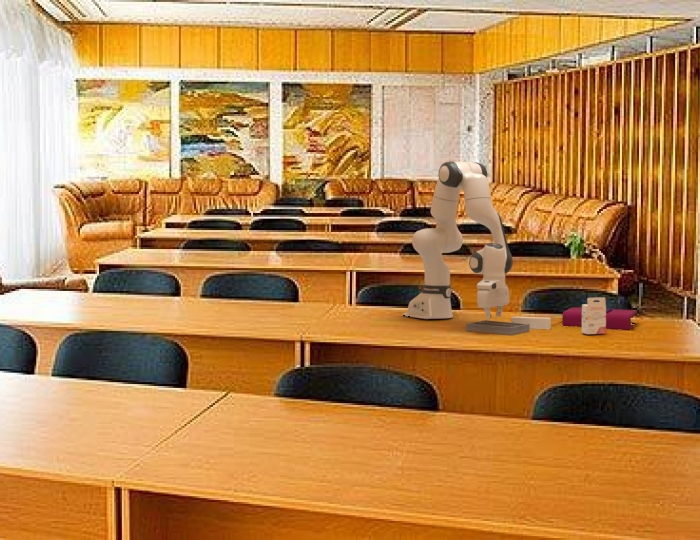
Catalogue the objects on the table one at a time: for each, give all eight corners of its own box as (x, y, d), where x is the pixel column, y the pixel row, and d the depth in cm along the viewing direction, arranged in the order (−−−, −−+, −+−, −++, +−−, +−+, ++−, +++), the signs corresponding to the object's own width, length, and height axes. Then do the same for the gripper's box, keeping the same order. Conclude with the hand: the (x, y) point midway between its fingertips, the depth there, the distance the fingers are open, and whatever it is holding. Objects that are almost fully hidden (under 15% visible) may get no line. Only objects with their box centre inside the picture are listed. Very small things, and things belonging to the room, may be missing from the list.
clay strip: (510, 329, 443) (511, 317, 442) (511, 328, 447) (511, 316, 446) (549, 330, 439) (550, 318, 439) (550, 329, 443) (550, 317, 442)
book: (629, 332, 437) (630, 313, 437) (561, 328, 448) (562, 310, 447) (636, 326, 456) (637, 308, 456) (571, 322, 467) (571, 305, 467)
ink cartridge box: (599, 332, 434) (600, 296, 432) (605, 333, 429) (606, 297, 428) (580, 332, 431) (581, 296, 430) (586, 334, 426) (587, 297, 425)
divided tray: (466, 330, 435) (466, 323, 435) (484, 327, 447) (484, 320, 447) (511, 335, 422) (511, 327, 422) (529, 331, 434) (529, 324, 434)
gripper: (500, 281, 441) (499, 314, 442) (474, 284, 424) (474, 319, 425) (513, 282, 437) (512, 315, 438) (488, 285, 421) (487, 320, 422)
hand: (493, 317), depth 431 cm, fingers open, 7 cm apart
